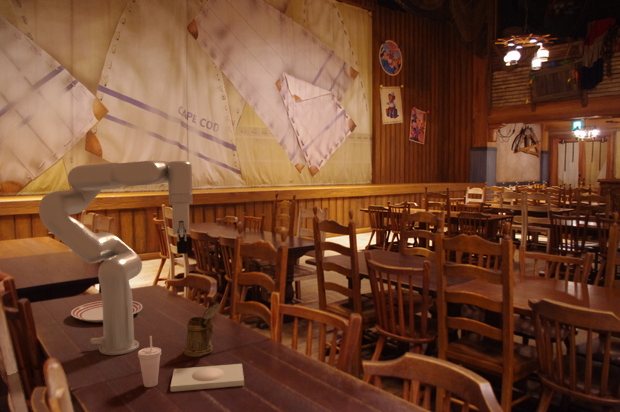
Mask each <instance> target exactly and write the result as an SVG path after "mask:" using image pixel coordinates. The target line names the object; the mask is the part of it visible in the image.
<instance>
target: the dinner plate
mask: <svg viewBox="0 0 620 412" xmlns="http://www.w3.org/2000/svg"><path fill="white" fill-rule="evenodd" d="M132 301H133V315H135V314H137V313H139V312H140V311H141V310H142V309H143V304H142V303H140V302H138V301H135V300H132ZM70 315H71V316H72V317H73V318H75V319H78V320H81V321H86V322H90V323H103V307H102V300H97V301H94V302H93V301H92V302H89V303H88V302H87V303H83V304H82V305H79V306H77V307H75V308H73V309H72V310H71V311H70Z"/></svg>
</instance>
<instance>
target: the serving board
mask: <svg viewBox="0 0 620 412" xmlns="http://www.w3.org/2000/svg"><path fill="white" fill-rule="evenodd" d="M241 386H243V387H244V386H245V377H244V369H243V363H233V364H221V365H220V364H219V365H209V366H195V367H183V368H174V369H173V373H172V378H171V383H170V392H184V391H193V390H194V391H195V390H205V389H207V390H208V389H219V388H228V387H229V388H230V387H241Z"/></svg>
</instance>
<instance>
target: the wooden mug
mask: <svg viewBox="0 0 620 412" xmlns="http://www.w3.org/2000/svg"><path fill="white" fill-rule="evenodd" d="M219 310H220V303H217V302H215V303H213V305H211V306H209V307H208V308H207V309H206V310H205V311H204V313H203V316H193V317H189V318H188V322H187V324H186V329H187V332H186V341H185V347H184V352H183V353H184V356H187V357H191V358H192V357H193V358H197V357H199V358H200V357H204V356H207V355H209V354H212V352H213V344H212V343H211V338H212V336H213V333H214V323H213V320H212V319H213V317H214V316H216V314H217V313H218V311H219Z"/></svg>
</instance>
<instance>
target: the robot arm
mask: <svg viewBox="0 0 620 412" xmlns="http://www.w3.org/2000/svg"><path fill="white" fill-rule="evenodd" d="M192 167H193V166H192V163H191V162H190V161H186V160H184V161H183V160H175V161H165V160H141V161H130V162H129V161H128V162H108V163H107V162H105V163H97V164H95V163H94V164H82V165H78V166H74V167H73V168H71V170H70V171H69V172H68V175H67V181H68V184H69V185H70V187H72V188H71V189H67V190H57V191H52V192H49V193H47V194H45V195H44V196H43V197H42V198H41V200H40V201H39V205H38V213H39V214H38V215H39V218H40V219H39V220H40V221H41V223H42V225H43V226H44V227H45V228H46V229H47V230H48V232H49V233H51V234H52V235H53V236H55V237H56V238H57V239H59V240H60V241H61V242H62V243H64V245H65V246H66V247H68V249H70V250H71V251H72V252H74V253H75V255H77V256H78V257H79V258H80V259H82V260H83V261H84V262H85V263H87V264H96V263H99V262H102V263H101V264H100V265H99V267H98V270H97V271H98V272H97V274H98V283H99V285H100V292H101V301H102V307H103V322H102V324H103V325H102V327H103V329H102V330H103V336H100V337H91V338H90V340H89V341H90V342H89V343H90V344H91V345H92V346H98V347H99V348H98V351H99V353H101V354H102V355H108V356H119V355H125V354H130V353H132V352H134V351H136V350H138V348H139V347H140V343H139V341H138V340H136V339H135V333H134V332H135V330H134V329H135V327H134V314H133V301H134V300H133V293H132V287H131V285H130V280H132V279H134V278H135V277H137V276H138V275H139V274H140V273H141V272H142V269H143V262H142V259H141V258H140V256H139V255H138V254H137V252H135V251H134V250H133V249H132V248H131V247H129V246H128V245H127V244H126V243H125V242H123V240H121V239H120V238H119V237H118V236H117V235H115V234H113V233H111V232H107V231H101V232H100V231H99V232H97V233H95V232H93V231H92V230H91V229H89V228H88V227H87V226H86V225H85V224H83V223H82V222H81V221H79V220H78V219H76V218H74V217H72V216H71V215H77V214H80V213H81V212H83V211H85V210H86V209H87V208H88V207H89V205H90V204H91V203H92V202H93V201H94V200H95V198H97V196H98V195H99V194H100V192H101V191H102V190H114V189H121V188H124V187H136V186H137V187H138V186H149V185H158V184H159V185H161V184H168V185H167V187H168V204H169V205H172V208H171V210H172V211H171V212H172V213H171V214H172V215H171V216H172V217H171V218H172V220H171V221H172V235H173V236H175V235H176V236H177V237H176V238H177V241H176V254H178V255H185V254H188V253H189V252H188V236H187V235H188V234H189V229H190V205H191V204H193V202H194V200H193V199H194V198H193V196H194V195H193V171H192V170H193V168H192Z"/></svg>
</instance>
